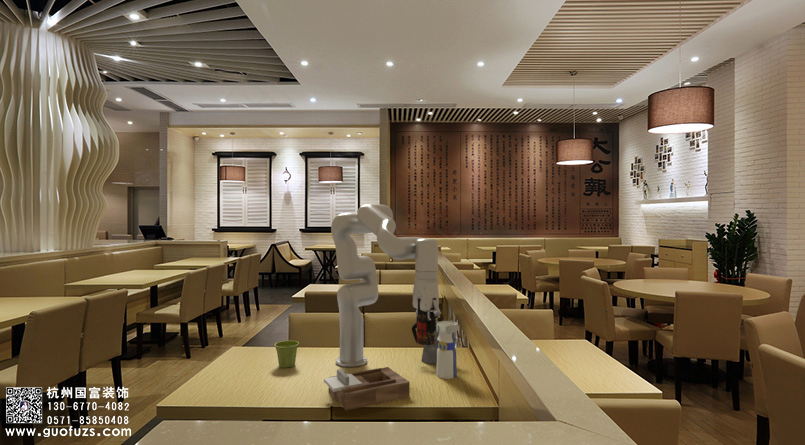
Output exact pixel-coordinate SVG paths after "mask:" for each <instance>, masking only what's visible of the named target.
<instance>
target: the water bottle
mask: <svg viewBox="0 0 805 445" xmlns="http://www.w3.org/2000/svg"><path fill="white" fill-rule="evenodd" d="M441 315H442V312H440V313H439V314H438V316H437V318H439V319H441ZM437 322H438V323H437V333H438V328H439V337H438V338H437V340H438V350H437V364H436V369H435V370H436V374H435V375H436V376H437V378H441V379H447V380H449V379H455V378H457V377H458V370H457V367H458V366H457V349H456V341H457V338H456V336H455V333H456V332H457V331H459V330H460V326H459V324H458V322H456V321H452V320H442V321H437Z"/></svg>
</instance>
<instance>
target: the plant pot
mask: <svg viewBox="0 0 805 445" xmlns="http://www.w3.org/2000/svg"><path fill="white" fill-rule="evenodd" d="M299 344H300V342H299V341H297V340H282V341H278V342H275V343H274V345H273V346H274V347H275V350H276V353H277V361H278V366H279V368H282V369H286V368H292V367H293V368H294V366H295V365H296V359H297V352H298V351H297V350H298V348H299V347H298V346H299Z"/></svg>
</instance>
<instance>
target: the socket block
mask: <svg viewBox="0 0 805 445" xmlns="http://www.w3.org/2000/svg"><path fill="white" fill-rule="evenodd" d="M348 374H352V375H353V376H355V377H356V378H357V379H358V380H359V381H360V382H362V385H358V386H352V387H347V388H342V390H341V391H336V392H333V391H332V390H331V389H330V388H329V387H328V393H329V394H330V396H331V397H332V398H333V399H334V400H335V401H336V402H337V403H338V404H339V405H340V404H341V405H342V406H343V407H342V406H341V405H340V406H341V407H342V409H344V411H345V412H346V411H351V410H352V411H353V410H356V409H360V408H365V406H366V407H370V406H375V405H380V404H384V403H389V402H393V401H397V400H401V399H407V398H410V380H407V379H406V378H405V377H403V376H402V375H400V374H399V373H397V372H396V371H395V370H393V369H392V368H390V367H389V366H386V367H380V368H374V369H367V370H360V371H357V372H350V373H348ZM336 376H337V375H334V376H329V377H328V378H330V377H336ZM369 405H370V406H369Z"/></svg>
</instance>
